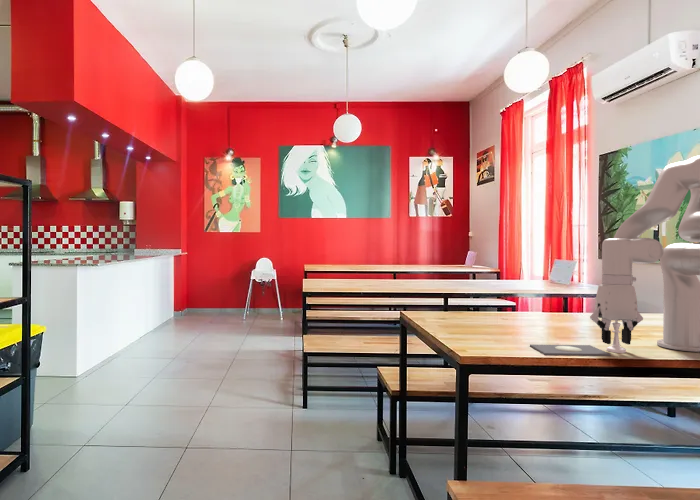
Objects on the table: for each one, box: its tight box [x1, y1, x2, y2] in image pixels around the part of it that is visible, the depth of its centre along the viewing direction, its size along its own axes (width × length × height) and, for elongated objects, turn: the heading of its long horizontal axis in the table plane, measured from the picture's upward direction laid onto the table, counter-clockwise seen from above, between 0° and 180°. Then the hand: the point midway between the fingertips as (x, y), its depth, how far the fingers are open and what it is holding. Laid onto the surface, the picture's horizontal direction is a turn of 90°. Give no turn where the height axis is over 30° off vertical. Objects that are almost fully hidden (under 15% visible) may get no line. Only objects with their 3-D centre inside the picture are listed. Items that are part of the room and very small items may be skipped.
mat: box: [529, 343, 611, 357], centre depth 127 cm, size 18×11×1 cm, turn 88°
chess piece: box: [606, 320, 627, 354], centre depth 127 cm, size 5×5×10 cm
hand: (616, 342), depth 127 cm, fingers open, 4 cm apart
